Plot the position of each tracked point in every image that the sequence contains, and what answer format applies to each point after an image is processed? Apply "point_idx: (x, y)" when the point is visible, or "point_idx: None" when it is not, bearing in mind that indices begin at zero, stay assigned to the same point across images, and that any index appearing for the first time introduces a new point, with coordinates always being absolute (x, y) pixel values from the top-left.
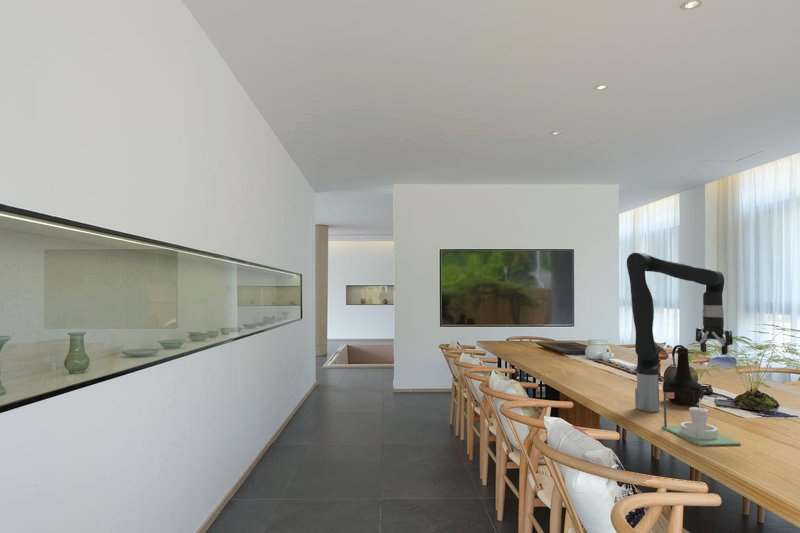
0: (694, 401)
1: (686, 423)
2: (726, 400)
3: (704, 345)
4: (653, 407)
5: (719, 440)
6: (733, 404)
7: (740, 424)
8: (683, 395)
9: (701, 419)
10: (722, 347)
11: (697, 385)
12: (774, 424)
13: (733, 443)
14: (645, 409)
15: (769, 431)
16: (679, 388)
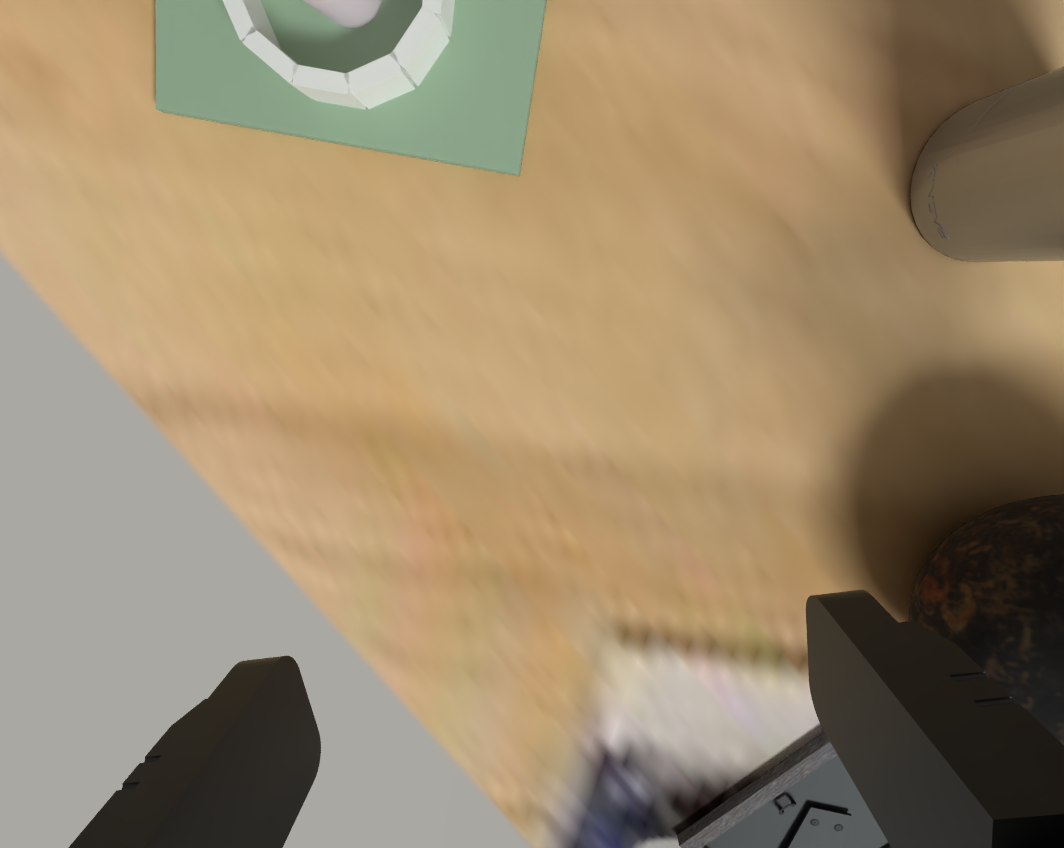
0: (914, 587)
1: None
2: None
3: (931, 824)
4: (939, 155)
5: (214, 13)
6: (822, 808)
7: (509, 499)
8: (981, 536)
9: None
10: (115, 836)
11: None
12: (467, 669)
13: (156, 57)
14: (969, 107)
15: (368, 528)
16: (1055, 551)
